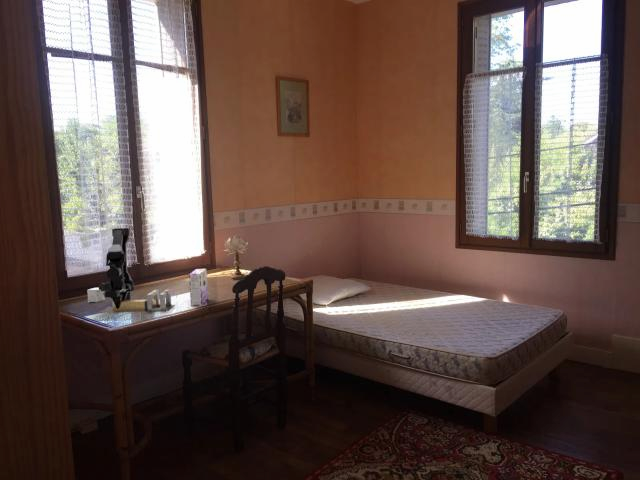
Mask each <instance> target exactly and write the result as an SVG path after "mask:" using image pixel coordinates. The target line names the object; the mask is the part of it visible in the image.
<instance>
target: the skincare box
mask: <svg viewBox="0 0 640 480" xmlns="http://www.w3.org/2000/svg"><path fill="white" fill-rule="evenodd" d="M86 291H87V292H86V293H87V303H88V304H89V303H98V302H101V301H106V297H104V293H105V292H106V291H103V292H101V290H99V287H93V288H89V289H87V290H86Z"/></svg>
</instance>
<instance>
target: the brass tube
mask: <svg viewBox="0 0 640 480" xmlns="http://www.w3.org/2000/svg"><path fill="white" fill-rule="evenodd" d="M111 306H113V310H148V305H147V299H131V300H121V303H120V307H119V309H117V308H116V306H115V304H114V302H113V301H112V302H111ZM153 308H156V299H154V298H153Z"/></svg>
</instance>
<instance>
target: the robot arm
mask: <svg viewBox="0 0 640 480" xmlns="http://www.w3.org/2000/svg"><path fill="white" fill-rule="evenodd" d="M111 236H112V242H111V247H109V248H108V250H107V253H106V258H105V259H106V260H105V266H106V267H109V268H108V270H106V277H107V278H108V281H107V282H100V283H99V284H98V288H99V290H101V292H103V291H104V292H105V293H104V297H105V298H110V299H111V300H112V302H114V304H115V306H116V308H117V309H119V307H120V303H121V300H132V294H131V292H133V291H135V284H134V281H133V279H132V276H131V275H130V274H129V271H128V253H127V252H128V250H127V245H128V243H129V241H130V236H132V234H131V229H130V228H128V226H124V227H123V226H122V227H113V228H112V229H111Z"/></svg>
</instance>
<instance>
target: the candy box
mask: <svg viewBox="0 0 640 480" xmlns="http://www.w3.org/2000/svg"><path fill="white" fill-rule="evenodd" d="M207 273H208V271H207V268H195V269H194V270H193V271H192V272H190V273H189V275H188V277H189V294H190V296H189V298H190V306H191V307H193V306H194V307H200V306H199V305H202V306H203V305H204V304H205V303H206V302H207V301H208V300H209V289H208V288H209V287H208V274H207Z"/></svg>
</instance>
